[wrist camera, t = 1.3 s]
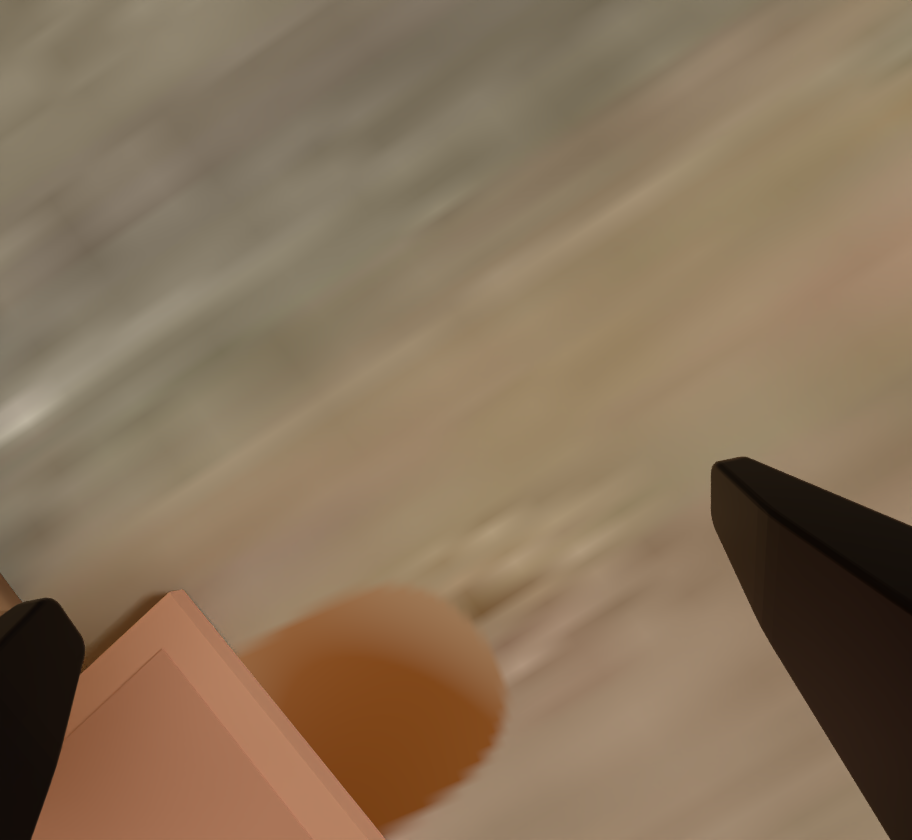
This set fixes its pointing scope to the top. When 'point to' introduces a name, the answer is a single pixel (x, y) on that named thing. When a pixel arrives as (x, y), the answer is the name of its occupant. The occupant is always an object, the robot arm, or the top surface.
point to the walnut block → (7, 596)
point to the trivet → (187, 748)
